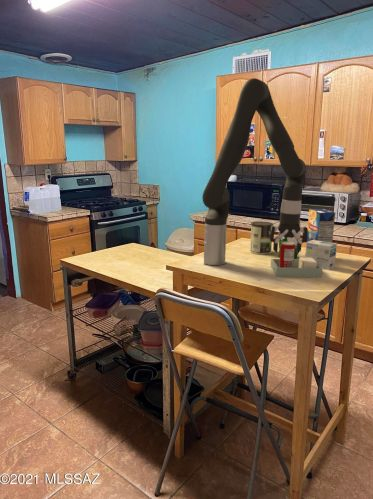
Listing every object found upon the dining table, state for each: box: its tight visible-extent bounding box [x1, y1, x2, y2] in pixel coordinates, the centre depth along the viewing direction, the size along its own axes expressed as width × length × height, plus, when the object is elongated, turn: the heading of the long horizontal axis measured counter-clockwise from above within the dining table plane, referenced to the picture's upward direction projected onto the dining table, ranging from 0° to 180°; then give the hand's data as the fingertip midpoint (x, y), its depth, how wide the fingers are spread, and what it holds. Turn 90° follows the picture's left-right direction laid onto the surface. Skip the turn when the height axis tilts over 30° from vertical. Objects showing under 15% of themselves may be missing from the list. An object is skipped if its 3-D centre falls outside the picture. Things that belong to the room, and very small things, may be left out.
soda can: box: [279, 242, 295, 268], centre depth 153 cm, size 6×6×12 cm
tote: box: [270, 258, 323, 278], centre depth 154 cm, size 17×13×4 cm
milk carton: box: [278, 220, 302, 259], centre depth 174 cm, size 9×9×20 cm
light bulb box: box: [304, 240, 338, 271], centre depth 162 cm, size 11×7×11 cm, turn 48°
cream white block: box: [298, 256, 317, 268], centre depth 154 cm, size 5×7×5 cm
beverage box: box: [304, 208, 336, 257], centre depth 173 cm, size 7×11×22 cm, turn 7°
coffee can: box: [249, 220, 274, 255], centre depth 185 cm, size 10×10×14 cm
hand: (286, 252), depth 153 cm, fingers open, 8 cm apart
